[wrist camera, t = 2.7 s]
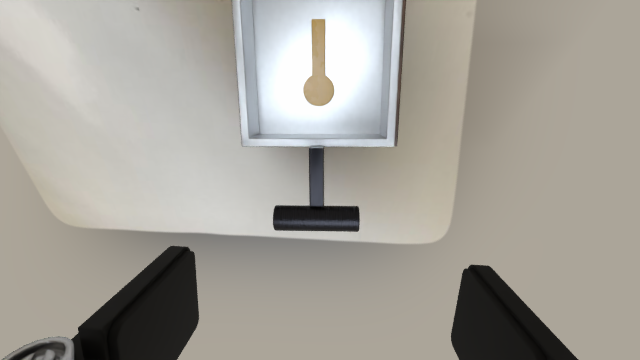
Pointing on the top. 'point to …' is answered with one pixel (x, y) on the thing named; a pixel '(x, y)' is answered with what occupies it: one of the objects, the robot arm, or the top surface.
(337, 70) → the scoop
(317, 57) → the spoon
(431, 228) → the top surface
